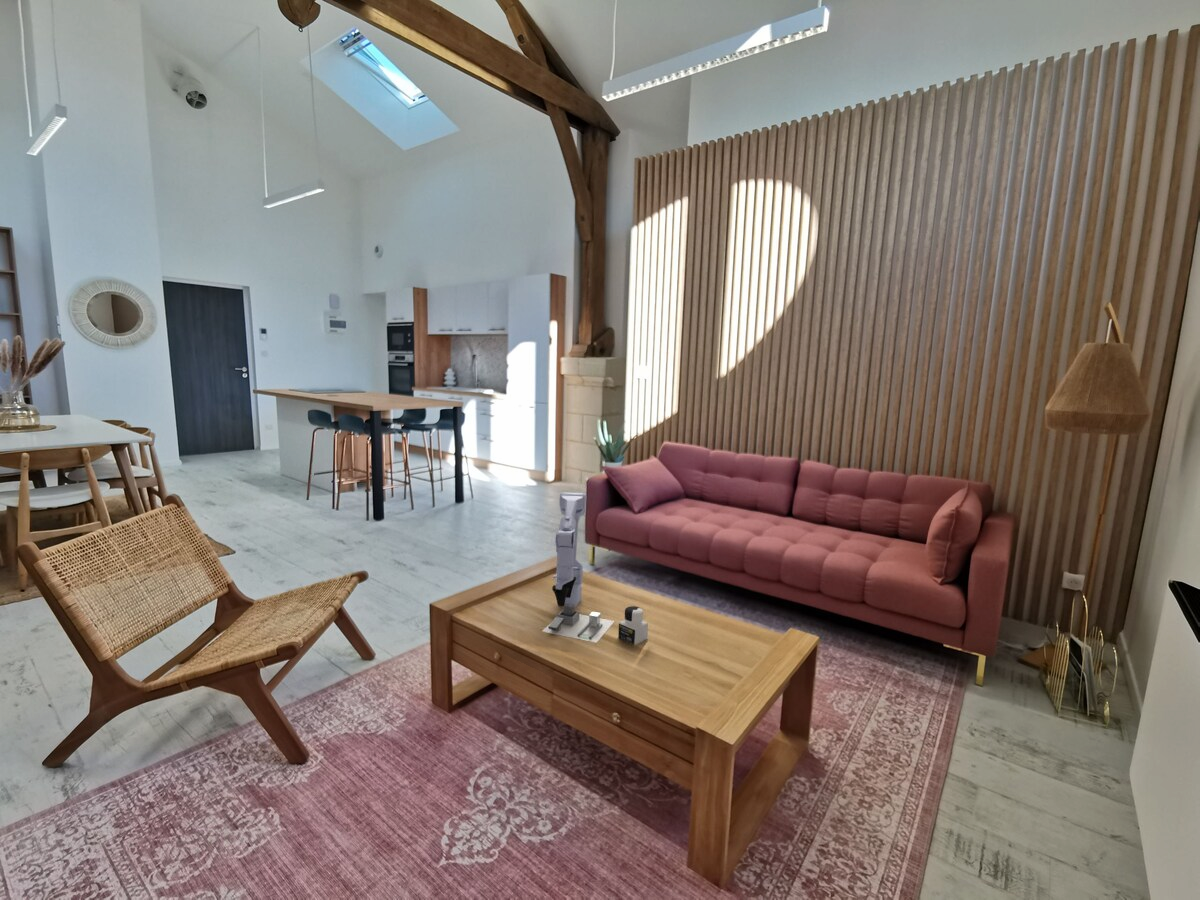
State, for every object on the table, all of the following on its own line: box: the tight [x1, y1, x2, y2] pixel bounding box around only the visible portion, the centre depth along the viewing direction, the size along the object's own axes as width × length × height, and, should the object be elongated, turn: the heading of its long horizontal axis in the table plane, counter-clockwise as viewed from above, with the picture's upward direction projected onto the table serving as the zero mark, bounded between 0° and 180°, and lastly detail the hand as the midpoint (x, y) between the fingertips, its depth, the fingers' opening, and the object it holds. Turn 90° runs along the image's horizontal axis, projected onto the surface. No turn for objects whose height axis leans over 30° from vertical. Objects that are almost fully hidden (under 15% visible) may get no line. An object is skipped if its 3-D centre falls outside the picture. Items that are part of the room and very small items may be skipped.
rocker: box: [547, 616, 564, 631], centre depth 201 cm, size 6×3×1 cm, turn 159°
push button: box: [562, 604, 575, 617], centre depth 208 cm, size 4×4×4 cm
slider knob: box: [588, 611, 601, 627], centre depth 204 cm, size 3×3×4 cm
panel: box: [541, 609, 615, 644], centre depth 205 cm, size 18×20×4 cm
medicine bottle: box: [617, 605, 649, 646], centre depth 196 cm, size 7×7×12 cm
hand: (564, 601), depth 206 cm, fingers open, 7 cm apart
